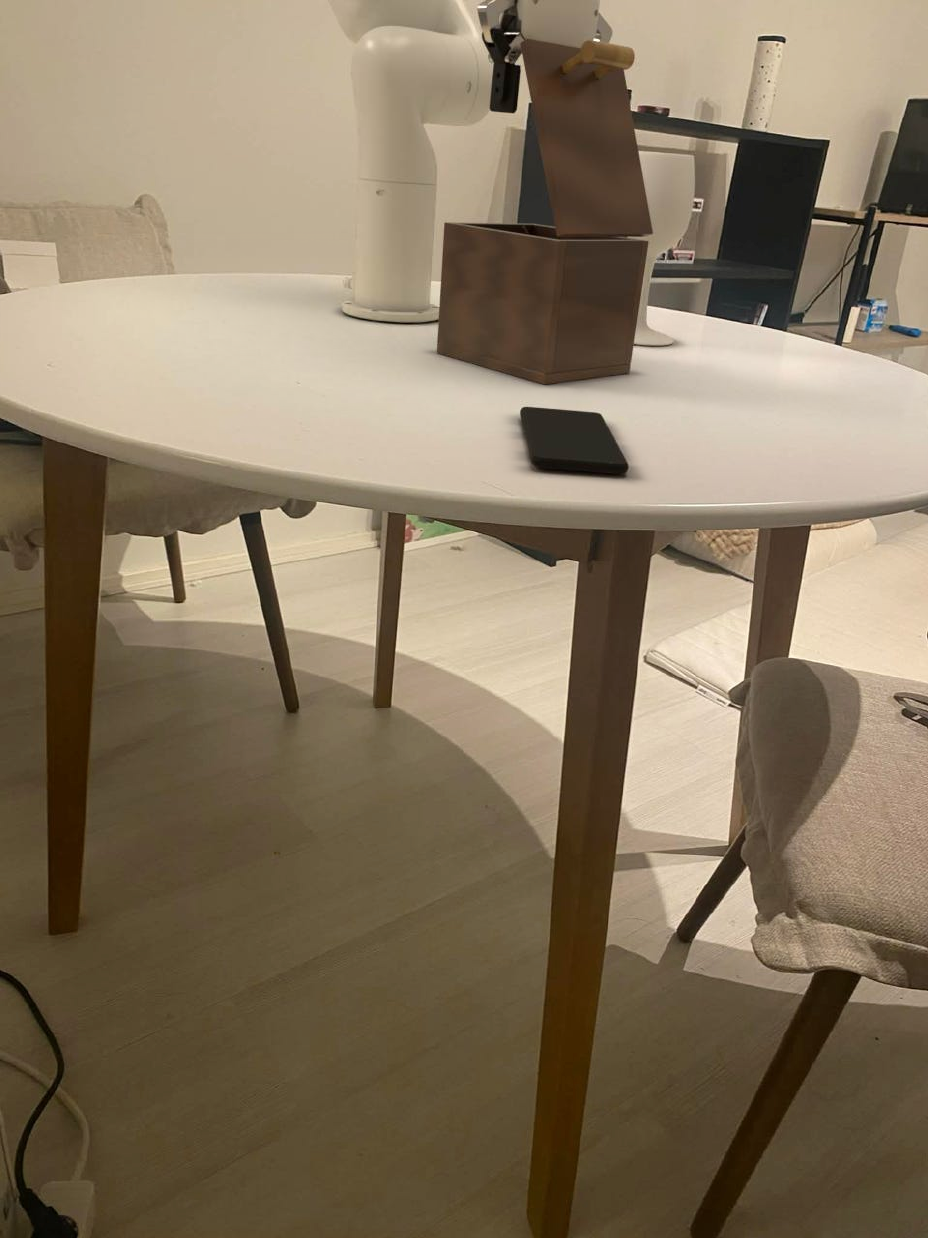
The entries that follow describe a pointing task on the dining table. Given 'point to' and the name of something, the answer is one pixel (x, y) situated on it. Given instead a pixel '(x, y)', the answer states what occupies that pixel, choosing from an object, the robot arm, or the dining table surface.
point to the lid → (587, 138)
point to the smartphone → (571, 441)
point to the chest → (539, 300)
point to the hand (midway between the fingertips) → (538, 115)
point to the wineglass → (663, 221)
